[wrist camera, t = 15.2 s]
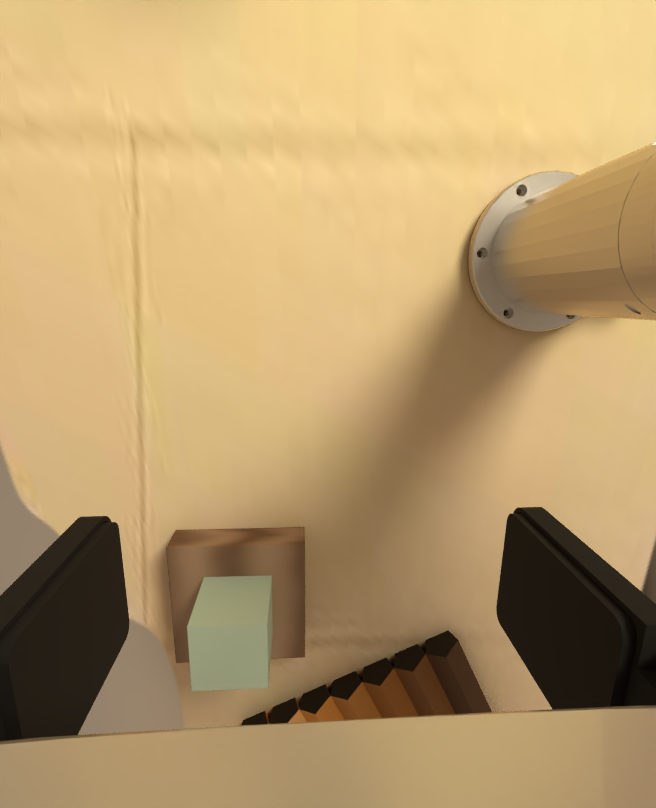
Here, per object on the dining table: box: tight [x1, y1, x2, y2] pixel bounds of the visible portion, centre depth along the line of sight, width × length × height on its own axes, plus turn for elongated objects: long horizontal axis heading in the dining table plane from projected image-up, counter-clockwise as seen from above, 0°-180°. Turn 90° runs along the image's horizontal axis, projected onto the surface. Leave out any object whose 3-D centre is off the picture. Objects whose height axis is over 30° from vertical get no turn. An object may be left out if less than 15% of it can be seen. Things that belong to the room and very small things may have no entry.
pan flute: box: [241, 631, 491, 726], centre depth 48 cm, size 25×3×25 cm
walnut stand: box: [166, 527, 305, 663], centre depth 41 cm, size 12×12×3 cm
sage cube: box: [187, 575, 273, 691], centre depth 36 cm, size 6×6×6 cm
